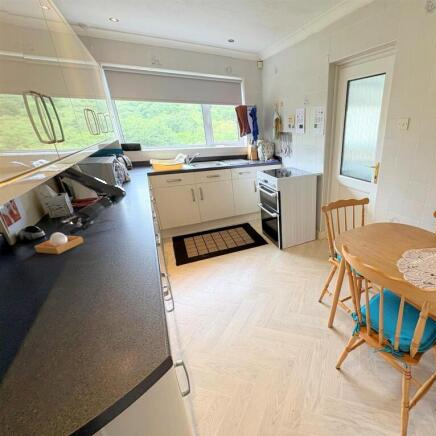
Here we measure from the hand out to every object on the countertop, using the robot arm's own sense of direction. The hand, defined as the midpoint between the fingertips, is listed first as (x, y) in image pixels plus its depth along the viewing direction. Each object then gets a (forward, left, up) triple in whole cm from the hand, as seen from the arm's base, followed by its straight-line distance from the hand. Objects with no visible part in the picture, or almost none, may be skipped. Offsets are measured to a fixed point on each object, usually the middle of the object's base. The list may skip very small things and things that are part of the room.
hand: (63, 231), depth 114 cm
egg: (-1, -3, -8) cm, 8 cm away
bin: (-1, -3, -8) cm, 8 cm away
